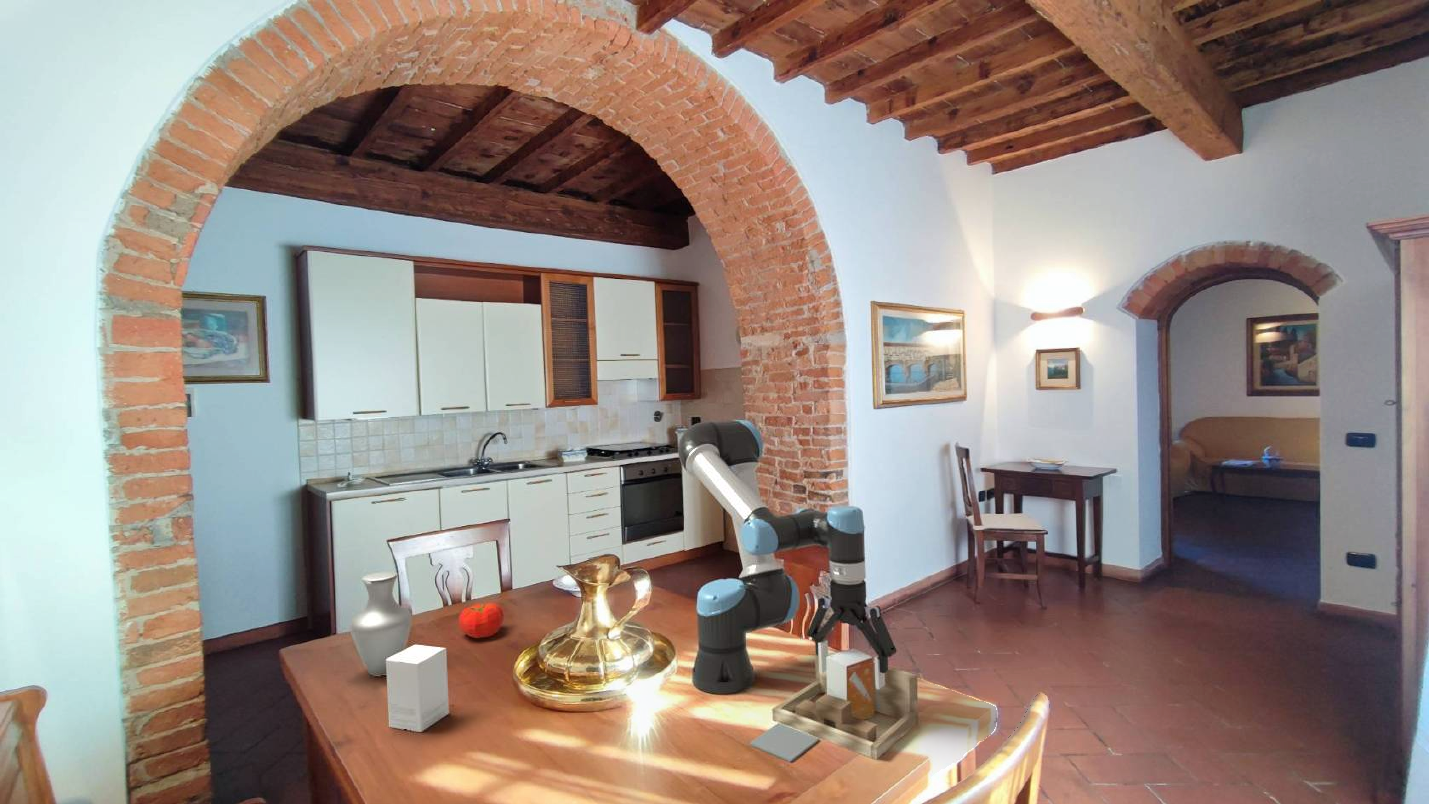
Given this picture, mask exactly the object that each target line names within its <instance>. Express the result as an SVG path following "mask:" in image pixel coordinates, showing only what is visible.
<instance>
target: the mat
mask: <svg viewBox="0 0 1429 804" xmlns="http://www.w3.org/2000/svg"><path fill="white" fill-rule="evenodd" d="M819 741H820V738H818V737H816V736H813V735H811V734H808V733H805V732H803V731H800V730H798V729H795V728H792V727H790V726H787V725H785V724H782V723H779V722H777V724H775V725H774V726H772V727H770V728H769V729H767V730H766V731H764V732H763V733H761V734H760V735H759V736H757V737H756V738H754V739H753V740H752V741H749V743H748V745H749V747H750V746H751V747H753V748H755V749H758V750H760V751H762V752H765V753H768V755H769V754H770V755H771V756H774V757H776V758H779V759H781V760H784V761H786V762H788V763H792V762H793V761H795V760H796V759H797V758H799V757H800V756H801V755H802V754H804V753H805V752H806V751H807V750H809V749H811V748H812V747H813V746H814V745H816V744H817V743H818V742H819Z"/></svg>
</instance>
